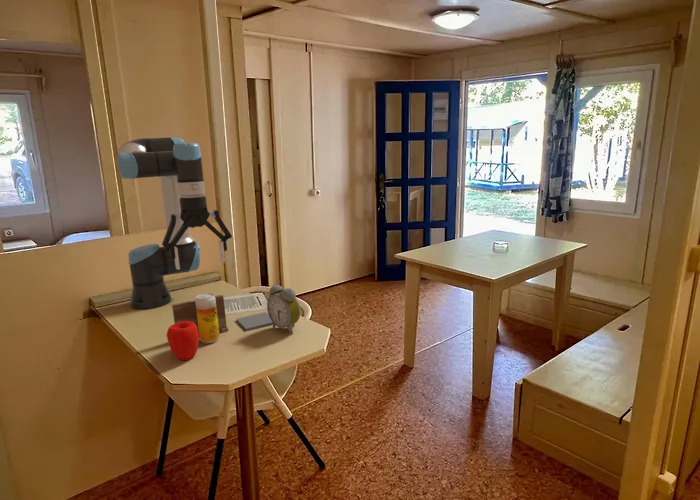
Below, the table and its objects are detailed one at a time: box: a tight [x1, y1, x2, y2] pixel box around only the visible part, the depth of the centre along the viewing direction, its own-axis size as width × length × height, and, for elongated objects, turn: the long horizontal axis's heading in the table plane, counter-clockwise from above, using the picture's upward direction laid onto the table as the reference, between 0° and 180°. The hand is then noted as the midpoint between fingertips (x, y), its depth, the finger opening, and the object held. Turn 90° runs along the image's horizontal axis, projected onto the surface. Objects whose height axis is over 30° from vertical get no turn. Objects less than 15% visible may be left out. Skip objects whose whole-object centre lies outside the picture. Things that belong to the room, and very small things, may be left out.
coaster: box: [236, 311, 273, 332], centre depth 159 cm, size 11×11×1 cm
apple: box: [166, 321, 200, 361], centre depth 133 cm, size 9×9×11 cm
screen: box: [171, 294, 229, 337], centre depth 149 cm, size 5×16×12 cm, turn 120°
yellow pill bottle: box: [194, 293, 221, 345], centre depth 144 cm, size 6×6×15 cm
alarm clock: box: [266, 284, 301, 335], centre depth 150 cm, size 12×7×15 cm, turn 47°
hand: (200, 265), depth 140 cm, fingers open, 13 cm apart
